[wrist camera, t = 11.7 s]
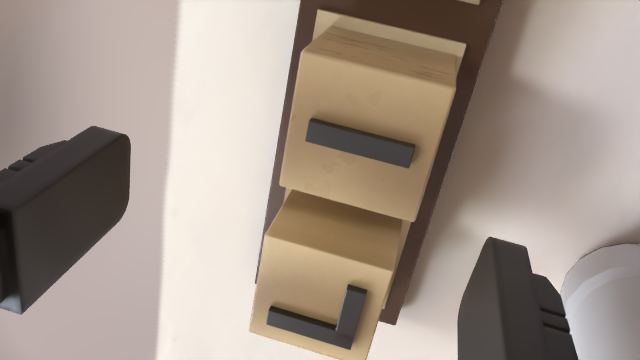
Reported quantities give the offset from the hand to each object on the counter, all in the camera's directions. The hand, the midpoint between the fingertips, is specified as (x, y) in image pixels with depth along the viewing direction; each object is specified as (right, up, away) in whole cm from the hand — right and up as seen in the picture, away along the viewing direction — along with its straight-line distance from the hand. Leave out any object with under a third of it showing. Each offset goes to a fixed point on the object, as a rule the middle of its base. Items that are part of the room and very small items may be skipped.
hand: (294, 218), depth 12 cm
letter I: (+3, +4, +8) cm, 9 cm away
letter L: (+1, -2, +11) cm, 11 cm away
